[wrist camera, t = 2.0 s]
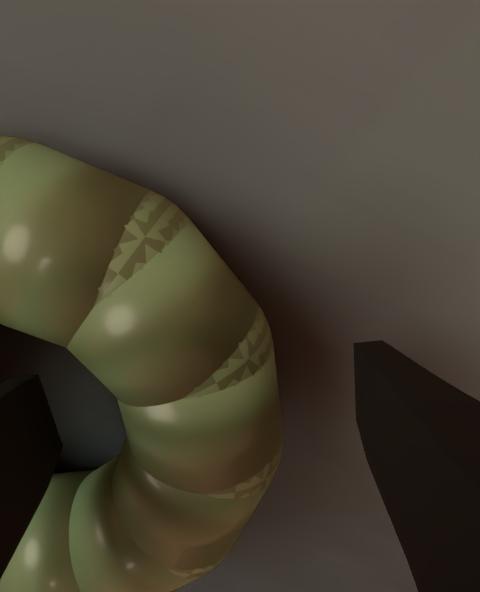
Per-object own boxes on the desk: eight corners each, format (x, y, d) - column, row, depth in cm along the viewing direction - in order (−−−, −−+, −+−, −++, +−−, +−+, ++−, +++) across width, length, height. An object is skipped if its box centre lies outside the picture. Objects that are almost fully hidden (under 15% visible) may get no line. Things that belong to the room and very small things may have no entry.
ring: (58, 584, 15) (6, 712, 12) (-268, 331, 12) (-469, 414, 9) (361, 411, 13) (401, 518, 9) (44, 9, 9) (-76, -54, 6)
